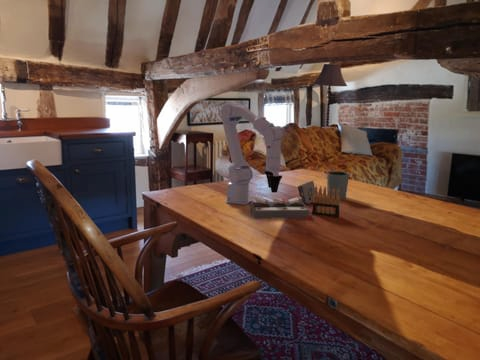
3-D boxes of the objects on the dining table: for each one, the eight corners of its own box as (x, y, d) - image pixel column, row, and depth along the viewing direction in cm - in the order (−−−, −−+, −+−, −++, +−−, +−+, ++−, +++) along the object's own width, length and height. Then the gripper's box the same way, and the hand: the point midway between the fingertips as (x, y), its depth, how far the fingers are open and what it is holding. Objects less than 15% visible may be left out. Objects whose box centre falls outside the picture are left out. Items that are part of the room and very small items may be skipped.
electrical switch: (307, 205, 161) (306, 184, 160) (297, 203, 165) (296, 183, 163) (317, 200, 168) (316, 180, 167) (307, 199, 172) (306, 180, 170)
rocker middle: (272, 202, 148) (273, 198, 148) (271, 199, 151) (272, 196, 151) (284, 205, 149) (285, 201, 149) (283, 202, 152) (284, 199, 152)
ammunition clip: (311, 214, 149) (313, 186, 146) (312, 213, 150) (314, 185, 147) (338, 217, 145) (341, 188, 142) (339, 216, 147) (341, 187, 144)
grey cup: (323, 198, 171) (325, 173, 168) (327, 193, 180) (329, 169, 177) (346, 201, 167) (348, 176, 164) (348, 196, 176) (350, 171, 173)
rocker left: (255, 202, 148) (256, 199, 148) (254, 200, 151) (255, 196, 151) (267, 205, 149) (268, 202, 148) (266, 203, 152) (267, 199, 151)
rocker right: (290, 205, 149) (289, 201, 149) (289, 202, 152) (288, 199, 152) (302, 201, 149) (302, 198, 149) (300, 199, 152) (300, 196, 152)
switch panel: (253, 218, 143) (254, 209, 142) (250, 209, 155) (250, 201, 154) (308, 217, 145) (309, 209, 144) (301, 208, 156) (302, 200, 156)
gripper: (286, 159, 139) (285, 194, 142) (279, 154, 153) (279, 185, 156) (268, 160, 138) (267, 194, 141) (263, 154, 152) (262, 186, 155)
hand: (272, 190), depth 149 cm, fingers open, 7 cm apart
